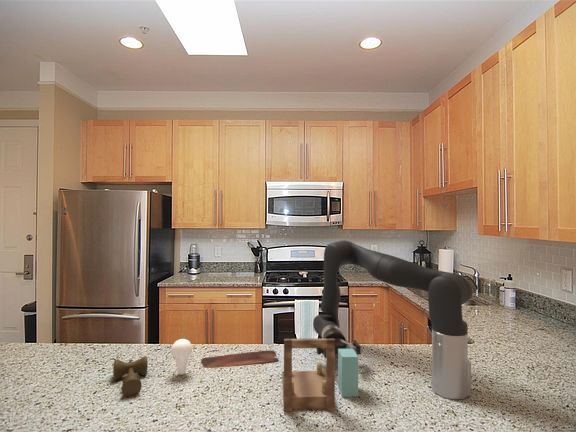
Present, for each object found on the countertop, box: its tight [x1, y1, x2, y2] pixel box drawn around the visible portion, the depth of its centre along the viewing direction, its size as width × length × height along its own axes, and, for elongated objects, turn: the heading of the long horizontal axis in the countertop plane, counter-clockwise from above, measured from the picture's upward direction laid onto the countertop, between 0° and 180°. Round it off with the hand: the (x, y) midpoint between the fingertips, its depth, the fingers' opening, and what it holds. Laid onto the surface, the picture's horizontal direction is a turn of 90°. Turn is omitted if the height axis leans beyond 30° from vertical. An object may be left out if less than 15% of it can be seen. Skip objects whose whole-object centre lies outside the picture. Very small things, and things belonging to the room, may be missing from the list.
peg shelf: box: [281, 338, 336, 413], centre depth 95 cm, size 13×16×18 cm
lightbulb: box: [171, 338, 193, 376], centre depth 107 cm, size 6×6×11 cm
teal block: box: [337, 348, 359, 398], centre depth 97 cm, size 4×6×11 cm
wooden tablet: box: [200, 349, 279, 369], centre depth 118 cm, size 26×2×10 cm
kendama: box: [112, 355, 149, 398], centre depth 102 cm, size 6×10×20 cm
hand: (342, 356), depth 106 cm, fingers open, 8 cm apart
